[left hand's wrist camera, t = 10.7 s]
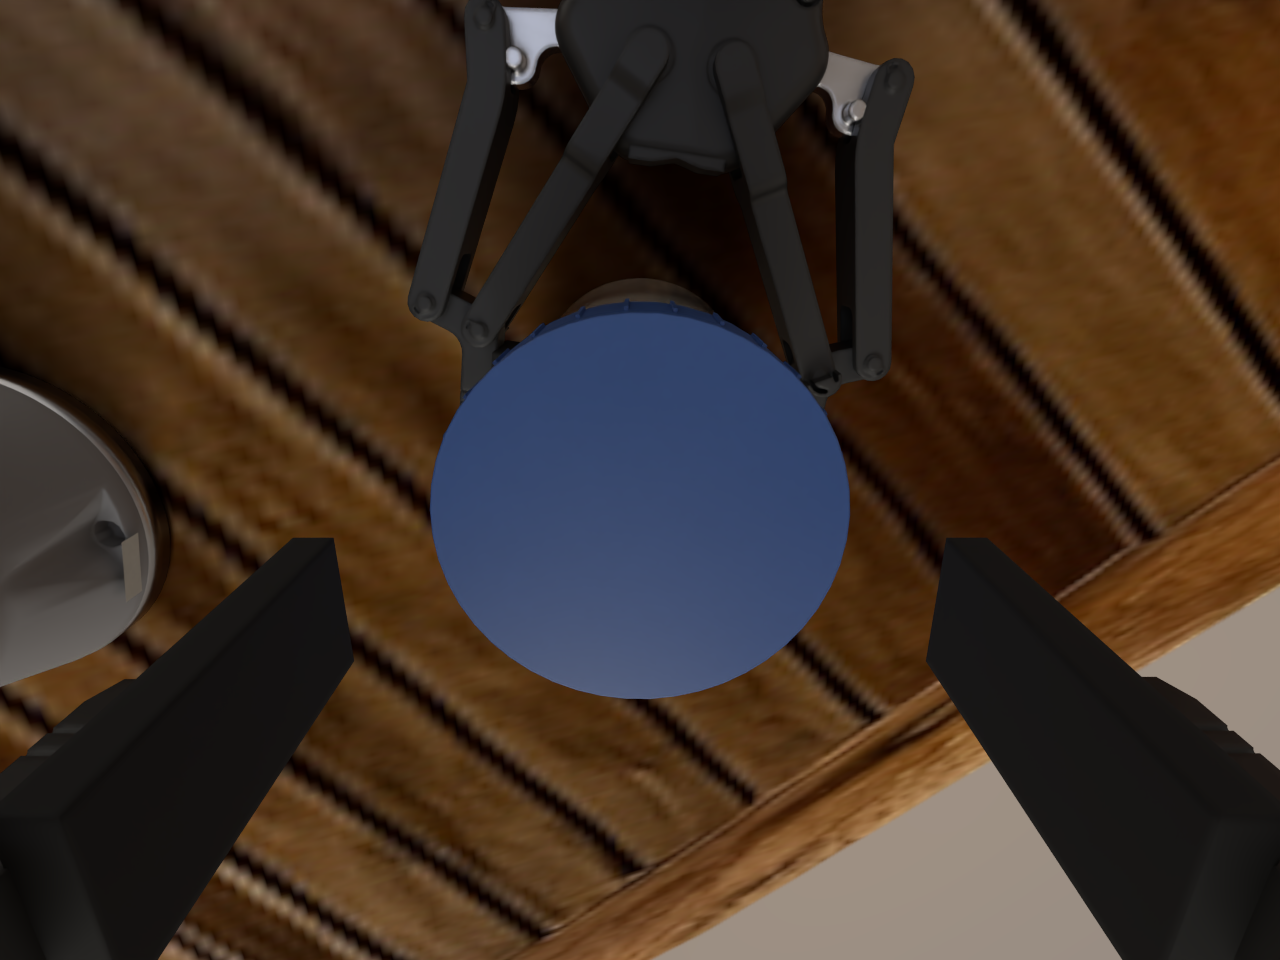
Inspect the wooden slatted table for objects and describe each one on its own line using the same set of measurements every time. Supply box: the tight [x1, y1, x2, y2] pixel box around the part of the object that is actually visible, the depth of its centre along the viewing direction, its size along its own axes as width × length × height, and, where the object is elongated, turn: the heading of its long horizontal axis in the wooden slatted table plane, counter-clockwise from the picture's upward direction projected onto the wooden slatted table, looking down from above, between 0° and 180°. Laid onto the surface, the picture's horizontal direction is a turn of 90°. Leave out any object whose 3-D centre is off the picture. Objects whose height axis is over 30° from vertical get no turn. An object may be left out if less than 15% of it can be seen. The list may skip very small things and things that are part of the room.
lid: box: [430, 299, 850, 699], centre depth 18 cm, size 10×10×2 cm
